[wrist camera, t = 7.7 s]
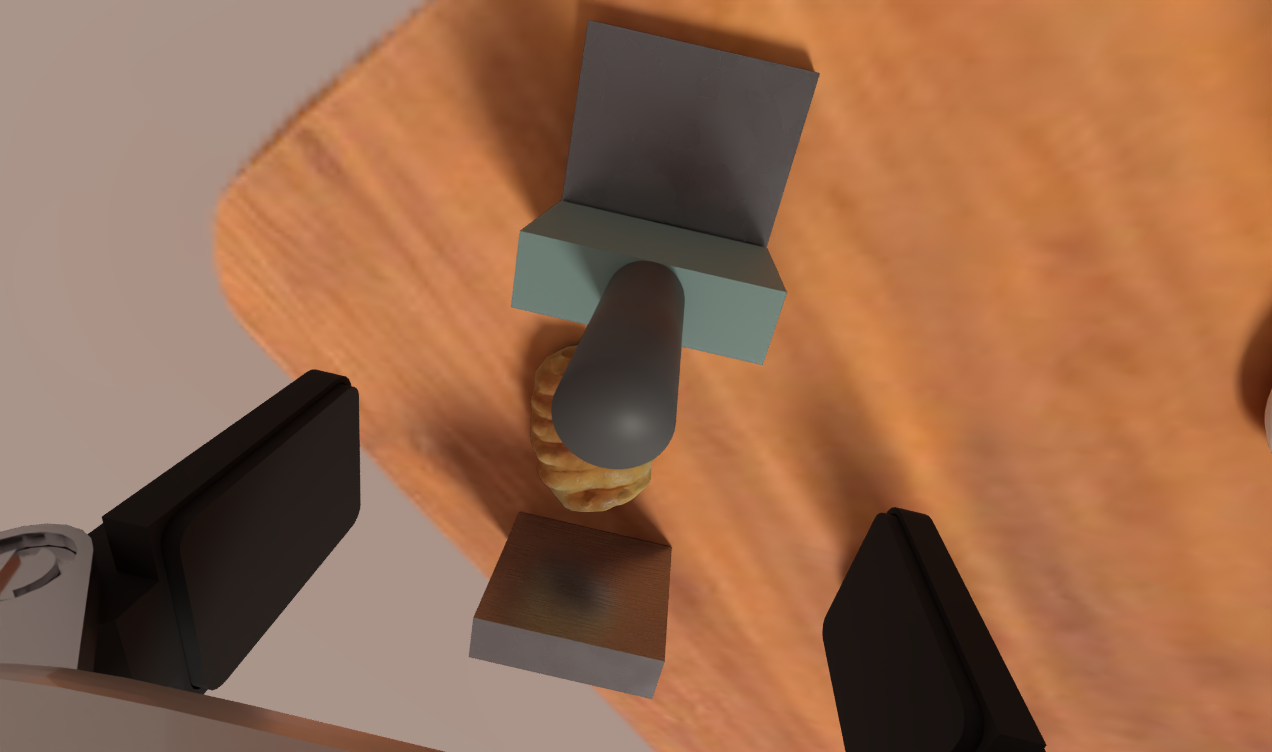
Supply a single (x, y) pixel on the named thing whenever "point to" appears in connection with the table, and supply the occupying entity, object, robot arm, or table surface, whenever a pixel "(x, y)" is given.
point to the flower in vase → (1269, 420)
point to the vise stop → (577, 606)
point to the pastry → (564, 470)
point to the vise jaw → (639, 319)
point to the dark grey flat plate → (684, 133)
